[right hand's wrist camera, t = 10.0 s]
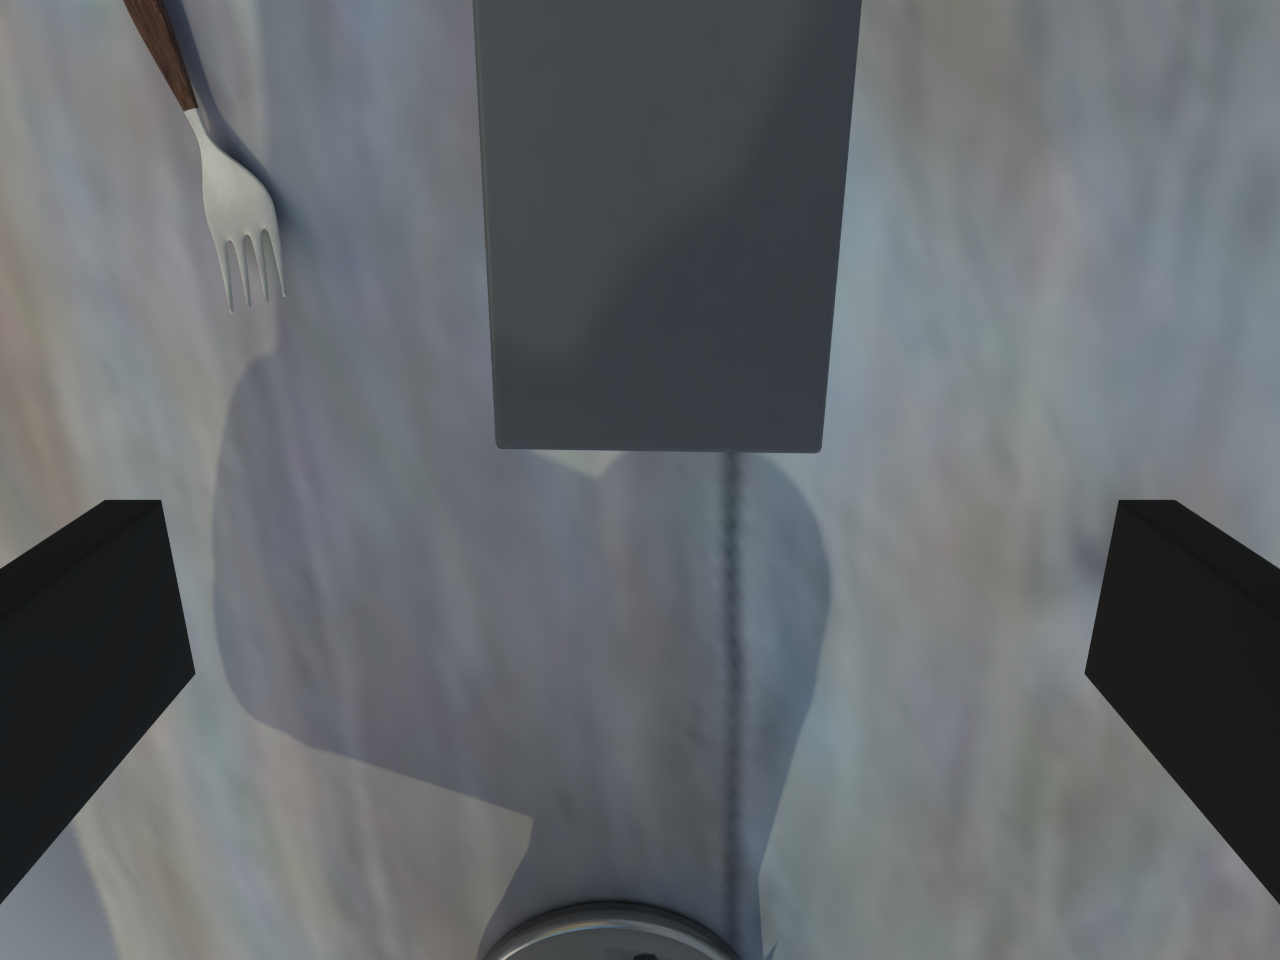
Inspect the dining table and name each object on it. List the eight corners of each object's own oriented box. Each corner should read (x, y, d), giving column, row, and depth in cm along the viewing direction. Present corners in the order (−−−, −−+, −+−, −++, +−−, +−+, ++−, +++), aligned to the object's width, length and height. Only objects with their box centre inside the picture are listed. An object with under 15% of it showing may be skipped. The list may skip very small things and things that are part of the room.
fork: (104, -200, 29) (66, -222, 27) (310, 286, 34) (290, 295, 32) (31, -172, 29) (-11, -192, 27) (248, 305, 35) (225, 316, 33)
